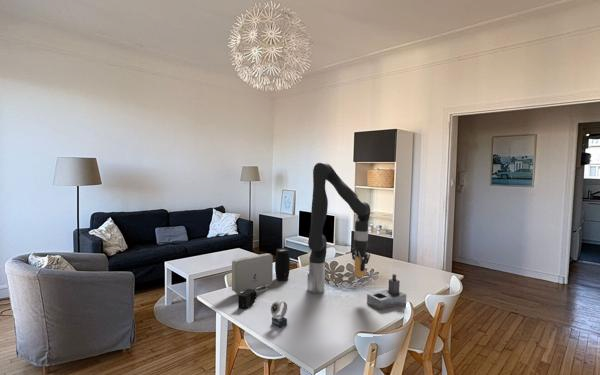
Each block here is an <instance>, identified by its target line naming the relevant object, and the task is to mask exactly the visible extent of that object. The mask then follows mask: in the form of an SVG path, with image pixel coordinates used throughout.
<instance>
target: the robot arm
mask: <svg viewBox="0 0 600 375" xmlns="http://www.w3.org/2000/svg"><path fill="white" fill-rule="evenodd" d="M312 179H313V181H312V184H313V185H312V198H311V200H312V201H311V214H310V216H311V217H310V227H309V228H310V229H309V234H308V241H307V244H308V245H307V246H308V247H309V248H308V249H310V251H311V252H310V255H309V257H308V258H309V259H308V260H309V261H308V262H309V265H308V273H307V290H308V291H309V292H311V293H313V294H315V293H319V294H320V293H323V292H325V280H326V279H325V276H326V274H325V273H326V271H325V270H326V256H327V246H328V245H327V238H326V236H325V235H324V233H323V231H324V229H323V228H324V226H325V222H326V219H327V215H328V208H329V200H328V196H327V190H326V183H327V182H329V183H330V184H331V185H332V186H333V189H335V191H336V192H337V195H339V196H340V197H341V199H342V200H343V201H344V202H346V204H347V205H348V206H349V208H350V209H351V210H352V211H353V213H354V214H356V215H357V219H356V220H355V223H354V236H353V247H354V248H351V249H350V251H351V258H352V260H354V262H355V257H359V258H360V260H361V267H360V270H361V271H364V269H365V270H366V265H368V263H369V260H370V257H371V254H370V253H367V252H368V251H367V248H368V247H369V246H368V245H369V221H370V215H371V206H370V204H369V203H368V202H365V201H361V200H360V199H359V198H358V195H357V193H356V192H355V191H353V189H352V188H350V186H348V185H347V183H345V182H344V181H343V179H342V178H341V177H340V176H339V175H338V174H337V172H336V171H335V170H334V168H333V167H332V166H331V164H330V163H327V162H318V163H316V164H314V166H313V169H312ZM363 257H364V258H363ZM362 260H363V261H362Z"/></svg>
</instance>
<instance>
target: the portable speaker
mask: <svg viewBox="0 0 600 375" xmlns="http://www.w3.org/2000/svg"><path fill="white" fill-rule="evenodd" d="M290 260H291V257H290V250H289V249H288V248H286V247H282V248H276V254H275V261H274V270H275V278H276V280H277V281H278V282H282V281H283V280H285V281H288V280H289V275H290V269H291V268H290V267H291V265H290V263H291V262H290Z"/></svg>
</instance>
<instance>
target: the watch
mask: <svg viewBox="0 0 600 375" xmlns="http://www.w3.org/2000/svg"><path fill="white" fill-rule="evenodd" d="M282 303H283V306H282V310H281V305H282ZM287 311H288V304H287V302H286V301H284V300H282V299H279V300H277V301H275V302H273V303H272V305H271V306H270V312H271V315H272V318H271V325H273V326H275V327H276V328H278V329H282V328H284V327H286V326H288V318H287V317H285V316H286V314H287ZM279 312H280V314H278V313H279Z"/></svg>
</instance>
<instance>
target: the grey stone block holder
mask: <svg viewBox="0 0 600 375" xmlns="http://www.w3.org/2000/svg"><path fill="white" fill-rule="evenodd" d="M366 295H367V296H366V297H367V298H366V303H367V304H368V305H370V306H371V307H374V308H375V309H377V310H378V311H382V310H386V309H390V308H396V307H399V306H403V305H406V304H407V293H404V292H401V291H400V290H399V294H398V295H392V294H390V293H388V289H384V290H379V291H376V292H371V293H367V294H366Z"/></svg>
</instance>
